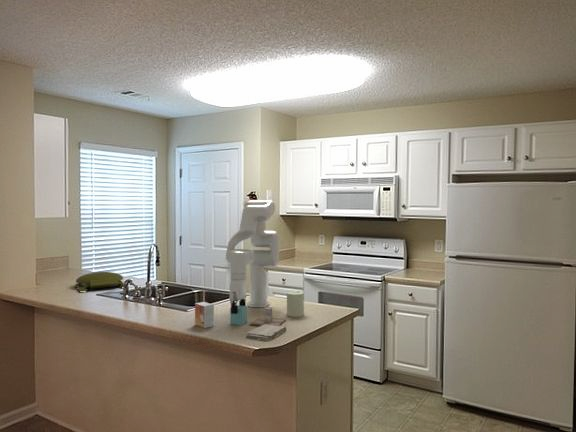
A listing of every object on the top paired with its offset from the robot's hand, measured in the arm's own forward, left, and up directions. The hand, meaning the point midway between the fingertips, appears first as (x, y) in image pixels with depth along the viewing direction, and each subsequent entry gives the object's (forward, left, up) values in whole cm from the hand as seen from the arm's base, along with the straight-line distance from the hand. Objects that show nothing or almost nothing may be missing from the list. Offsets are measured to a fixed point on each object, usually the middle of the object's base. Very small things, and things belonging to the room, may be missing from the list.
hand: (238, 311), depth 222 cm
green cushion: (-59, -130, -6) cm, 143 cm away
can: (-24, +22, -6) cm, 33 cm away
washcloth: (+13, +19, -7) cm, 24 cm away
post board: (-4, +14, -6) cm, 16 cm away
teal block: (-1, 0, -6) cm, 6 cm away
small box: (+8, -14, -6) cm, 18 cm away
